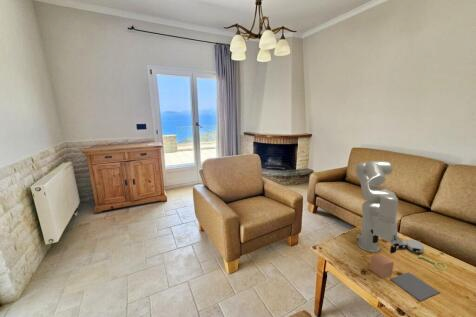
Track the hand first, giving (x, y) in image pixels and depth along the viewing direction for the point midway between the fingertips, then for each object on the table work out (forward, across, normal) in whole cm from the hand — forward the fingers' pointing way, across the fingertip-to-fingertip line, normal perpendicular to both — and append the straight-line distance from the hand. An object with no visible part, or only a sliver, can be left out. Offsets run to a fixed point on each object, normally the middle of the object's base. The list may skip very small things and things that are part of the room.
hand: (383, 247), depth 111 cm
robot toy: (+15, -10, +36) cm, 41 cm away
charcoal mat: (+16, +12, +6) cm, 21 cm away
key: (+16, +5, +35) cm, 39 cm away
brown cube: (+15, -1, 0) cm, 15 cm away
